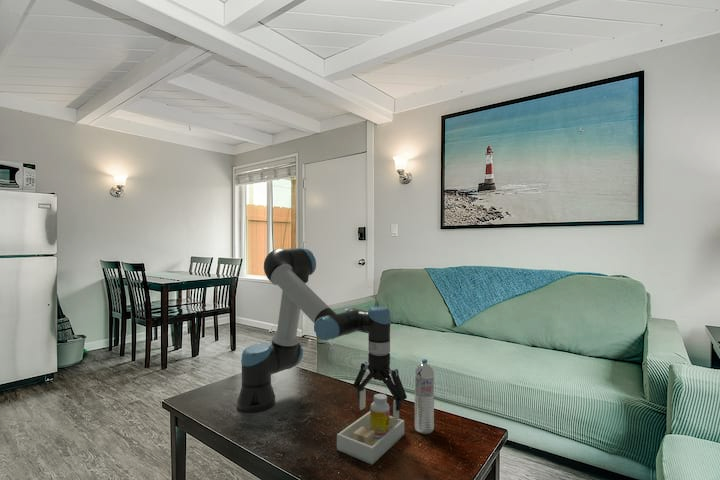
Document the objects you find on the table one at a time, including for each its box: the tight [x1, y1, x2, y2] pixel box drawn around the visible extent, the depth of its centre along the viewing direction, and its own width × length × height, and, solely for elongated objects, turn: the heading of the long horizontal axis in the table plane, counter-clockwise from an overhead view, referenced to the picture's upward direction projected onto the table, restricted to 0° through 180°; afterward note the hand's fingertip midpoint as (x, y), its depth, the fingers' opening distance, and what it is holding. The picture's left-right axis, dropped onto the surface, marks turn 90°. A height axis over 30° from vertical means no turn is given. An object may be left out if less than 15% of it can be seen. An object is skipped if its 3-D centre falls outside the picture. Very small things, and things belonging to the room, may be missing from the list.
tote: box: [336, 410, 405, 466], centre depth 124 cm, size 14×21×5 cm, turn 145°
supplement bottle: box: [369, 393, 391, 438], centre depth 128 cm, size 7×7×13 cm
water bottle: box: [414, 358, 435, 435], centre depth 132 cm, size 7×7×25 cm
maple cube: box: [353, 426, 375, 446], centre depth 120 cm, size 5×5×5 cm
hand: (378, 413), depth 128 cm, fingers open, 13 cm apart
